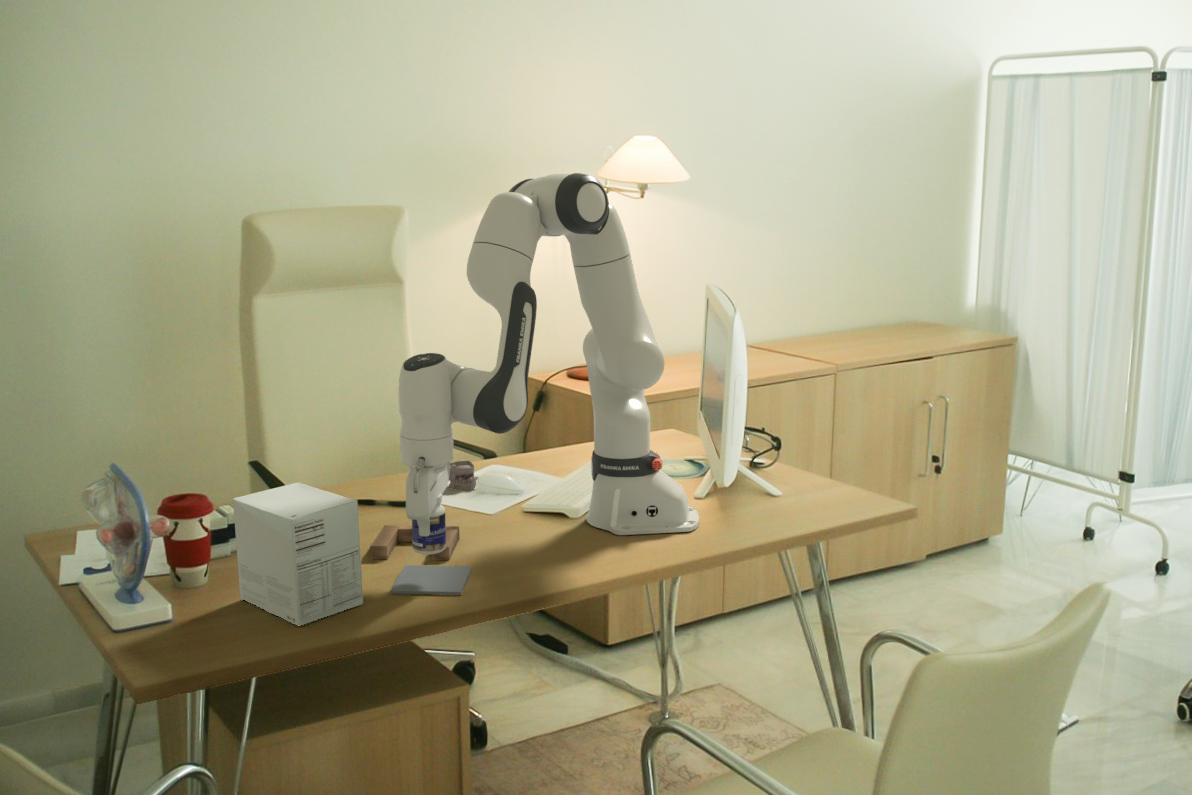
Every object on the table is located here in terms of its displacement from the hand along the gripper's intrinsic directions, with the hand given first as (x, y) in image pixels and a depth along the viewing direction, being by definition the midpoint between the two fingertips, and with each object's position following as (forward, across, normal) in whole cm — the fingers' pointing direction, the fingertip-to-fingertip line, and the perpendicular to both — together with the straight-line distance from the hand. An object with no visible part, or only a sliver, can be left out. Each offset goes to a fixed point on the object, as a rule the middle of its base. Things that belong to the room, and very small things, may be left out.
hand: (429, 528), depth 204 cm
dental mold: (+10, +56, +4) cm, 57 cm away
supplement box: (+10, -10, +20) cm, 24 cm away
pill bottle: (+4, 0, 0) cm, 4 cm away
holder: (+10, +16, +6) cm, 20 cm away
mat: (+10, 0, 0) cm, 10 cm away
